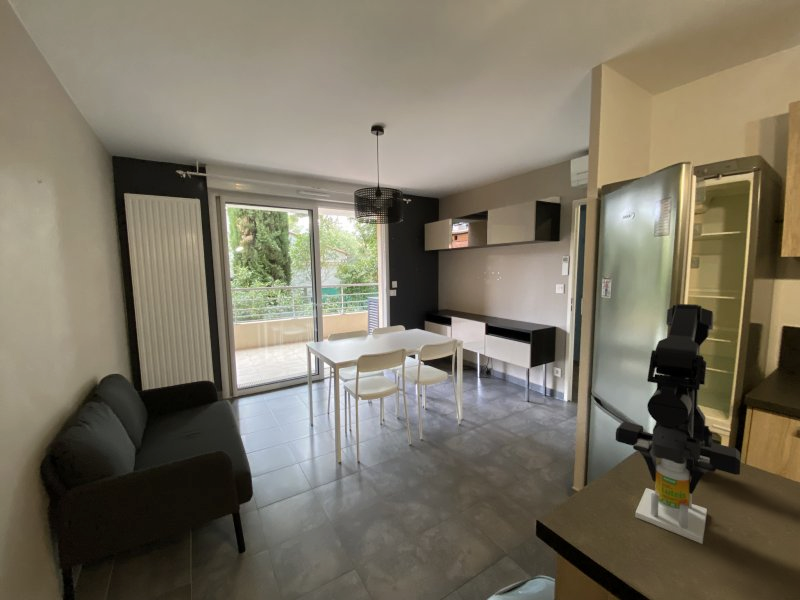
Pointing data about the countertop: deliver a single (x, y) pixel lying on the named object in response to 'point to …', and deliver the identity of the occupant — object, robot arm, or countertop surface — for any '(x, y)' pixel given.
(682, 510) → the pin tray
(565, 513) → the countertop surface
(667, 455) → the robot arm
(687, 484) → the supplement bottle
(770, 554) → the countertop surface
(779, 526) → the countertop surface
